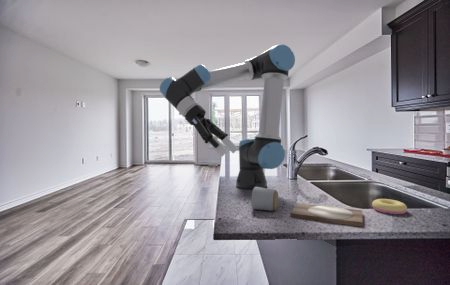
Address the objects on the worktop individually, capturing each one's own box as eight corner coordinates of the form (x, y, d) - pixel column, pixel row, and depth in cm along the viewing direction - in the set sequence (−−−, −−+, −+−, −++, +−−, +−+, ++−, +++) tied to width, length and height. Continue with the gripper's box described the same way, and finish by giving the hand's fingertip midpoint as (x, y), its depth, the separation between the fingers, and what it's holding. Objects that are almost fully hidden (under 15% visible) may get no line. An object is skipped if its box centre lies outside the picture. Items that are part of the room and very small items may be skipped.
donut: (388, 212, 90) (365, 210, 88) (388, 199, 91) (365, 197, 89) (414, 216, 81) (390, 214, 79) (414, 201, 81) (390, 199, 79)
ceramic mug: (275, 214, 83) (275, 190, 83) (250, 211, 86) (250, 188, 86) (280, 205, 93) (280, 184, 93) (258, 203, 96) (258, 183, 96)
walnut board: (298, 206, 91) (298, 202, 91) (362, 213, 82) (362, 209, 82) (289, 217, 80) (289, 213, 80) (362, 227, 70) (362, 222, 70)
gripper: (198, 120, 108) (232, 156, 104) (168, 116, 84) (211, 163, 80) (210, 107, 106) (245, 143, 102) (182, 99, 82) (227, 146, 79)
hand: (230, 152), depth 91 cm, fingers open, 13 cm apart
